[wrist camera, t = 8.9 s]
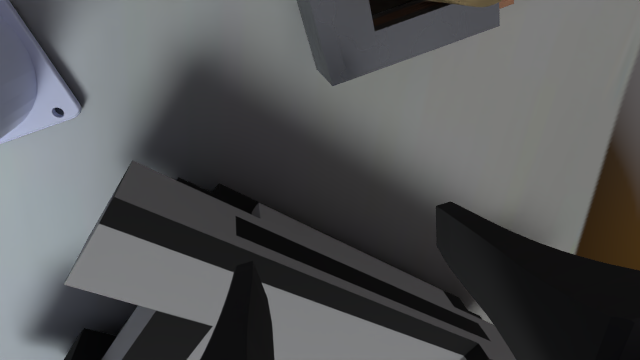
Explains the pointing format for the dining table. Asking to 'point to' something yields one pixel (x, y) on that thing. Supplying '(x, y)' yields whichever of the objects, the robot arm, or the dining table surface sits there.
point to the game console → (276, 277)
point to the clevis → (385, 32)
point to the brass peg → (470, 2)
